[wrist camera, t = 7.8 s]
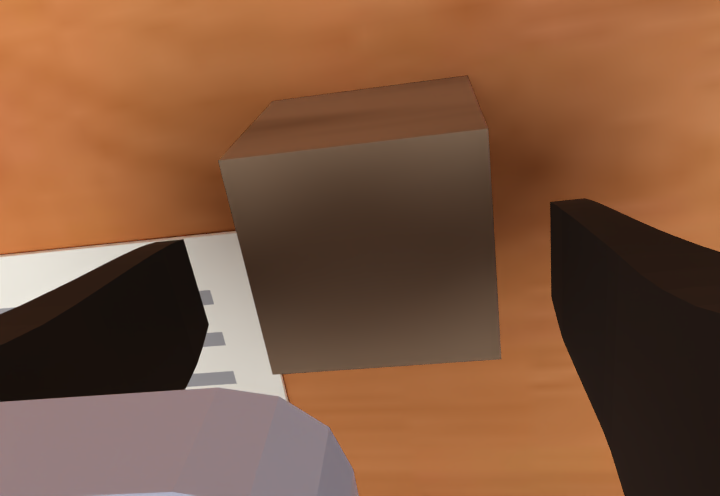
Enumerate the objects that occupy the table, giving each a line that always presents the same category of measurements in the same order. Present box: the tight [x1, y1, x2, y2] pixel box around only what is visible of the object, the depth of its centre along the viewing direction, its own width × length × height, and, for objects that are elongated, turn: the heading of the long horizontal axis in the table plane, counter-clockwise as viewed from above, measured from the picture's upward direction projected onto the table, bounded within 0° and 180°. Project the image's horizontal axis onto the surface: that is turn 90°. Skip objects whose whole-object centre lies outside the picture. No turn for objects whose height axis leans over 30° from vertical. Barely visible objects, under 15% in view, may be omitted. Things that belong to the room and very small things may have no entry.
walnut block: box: [218, 76, 501, 375], centre depth 15 cm, size 5×5×5 cm
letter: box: [0, 231, 289, 402], centre depth 21 cm, size 12×14×1 cm
